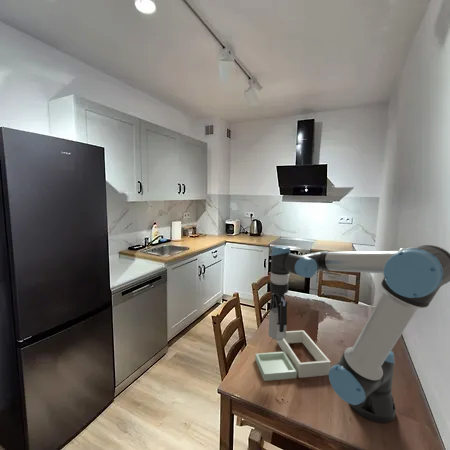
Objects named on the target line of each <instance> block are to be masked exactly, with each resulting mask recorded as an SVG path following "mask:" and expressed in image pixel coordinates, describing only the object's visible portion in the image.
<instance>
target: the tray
mask: <svg viewBox="0 0 450 450" xmlns="http://www.w3.org/2000/svg"><path fill="white" fill-rule="evenodd" d="M254 356H255V358H254V359H255V363H256V365H257V368H258V369H259V372H260V375H261V377H262V379H263V381H264V382H269V381H278V380H289V379H292V380H293V379H297V378H298V376H297V371H296V369H295V367H294V366H293V364H292V363H291V361H290V359H289V358H288V356H287V355H286V353H285V351H274V352H273V351H272V352H261V353H255V355H254Z"/></svg>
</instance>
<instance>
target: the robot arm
mask: <svg viewBox="0 0 450 450" xmlns="http://www.w3.org/2000/svg"><path fill="white" fill-rule="evenodd" d="M270 262H271V263H270V264H271V266H270V277H269V279H270V283H269V286H270V287H269V288H270V293H271V294H270V307H269V310H270V311H271V309H272V308H277V309H278V322H279V323H277V339H281V338H284V325H286V326H287V325H288V309H287V307H288V300H286V298H285V297H286V296H285V294H287V293H288V292H289V281H290V280H289V279H290V278H289V277H290V276H291V275H290V273H292V274H294V275H297V276H300V277H302V278H308V279H309V278H312V277H313V276H314V275H316V273H317V272H320V271H328V272H330V271H331V272H332V271H333V272H335V271H336V272H348V273H349V272H350V273H351V272H352V273H367V274H369V273H371V274H383V276H384V277H383V279H382V281H381V283H380V285H381V287H382V290H383V292H382V294H381V296H380V297H379V299H378V301H377V303H376V305H375V307H374V308H373V311H372V312H371V314H370V316H369V318H368V320H367V321H366V323H365V325H364V327H363V329H362V330H361V331H360V334H359V336H358V337H357V340H356V341H355V343H354V344H353V346H350V347H347V348H345V350H344V352H343V354H342V355H341V357H340V359H339V361H338V362H337V363H336V364H333V365H332V366H331V367H330V370H329V375H328V380H329V382H330V385H331V387H332V389H333V391H334V392H335V394H336V395H337V396H338V397H339V398H340V399H341V400H343V402H345V403H347V404H349V405H350V407H351V408H352V409H353V410H354V411H355V413H358V415H360V416H362V417H363V418H365V419H367V420H369V421H372V422H375V423H379V424H383V423H384V424H385V423H386V424H387V423H390V422H392V421H393V420H394V419H395V417H396V410H397V408H396V404H395V401H394V397H393V392H392V386H393V379H394V378H393V377H394V368H395V363H396V361H395V354H394V352H393V349H394V347H395V345H396V344H397V342H398V340H400V338H401V336H402V334H403V333H404V331H405V329H406V328H407V326H408V324H409V323H410V321H411V319H413V317H414V315H415V314H416V312H417V310H418V309H426V308H428V307H429V305H430V304H431V302H432V300H433V299H434V297H435V296H436V295H437V293H438V292H439V290H440V288H442V287H443V286H444V285H446V284H448V283H450V252H449V251H447V250H446V249H444V248H443V247H440V246H437V245H432V244H431V245H430V244H426V245H425V244H424V245H420V246H413V247H401V248H399V250H382V251H381V250H375V251H374V250H373V251H372V250H369V251H367V250H366V251H365V250H364V251H360V250H359V251H358V250H356V251H327V250H321V251H320V250H319V251H317V252H311V253H306V254H300V255H299V254H295V253H291V248H290V247H289V246H287V245H274V246H273V247H271V261H270Z"/></svg>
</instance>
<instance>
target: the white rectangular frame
mask: <svg viewBox="0 0 450 450" xmlns="http://www.w3.org/2000/svg"><path fill="white" fill-rule="evenodd" d="M295 343H296V344H298V343H301V344H303V346H304V347H305V348H306V349H307V351H308V352H309V353H310V354H311V355H312V357H313V358H314V360H315V361H305V362H301V361H300V359H299V358H298V357H297V355H296V353H295V352H294V351H293V349H292V347H291V346H290V344H295ZM277 345H278V346H279V348H280V349H281V352H283V351H285V353H286V355H287V356H288V358H289V359H290V361H291V363H292V364H293V366H294V367H295V369H296V371H297V378H310V377H311V378H312V377H322V376H324V377H325V376H329V370H330V369H331V368H332V366H331V364H332V362H331V360H330V358H328V357H327V355H325V353H324V352H323V351H322V350H321V349H320V348H319V347H318V345H317V344H316V343H315V342H314V340H313V339H312V338H311V337H310V336H309V334H308V333H306V331H305V330H290V331H287V330H286V337H285V338H284V339H282V340H277Z"/></svg>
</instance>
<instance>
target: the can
mask: <svg viewBox="0 0 450 450" xmlns="http://www.w3.org/2000/svg"><path fill="white" fill-rule="evenodd" d="M277 323H279V322H278V309H277V308H272V309H271V310H270V311H269V313H268V332H267V333H268V336H269V337H270V338H271V339H272V340H276V341H278V340H282V339H284V338H285V337H286V331H287V325H284V338H281V339H277Z"/></svg>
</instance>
